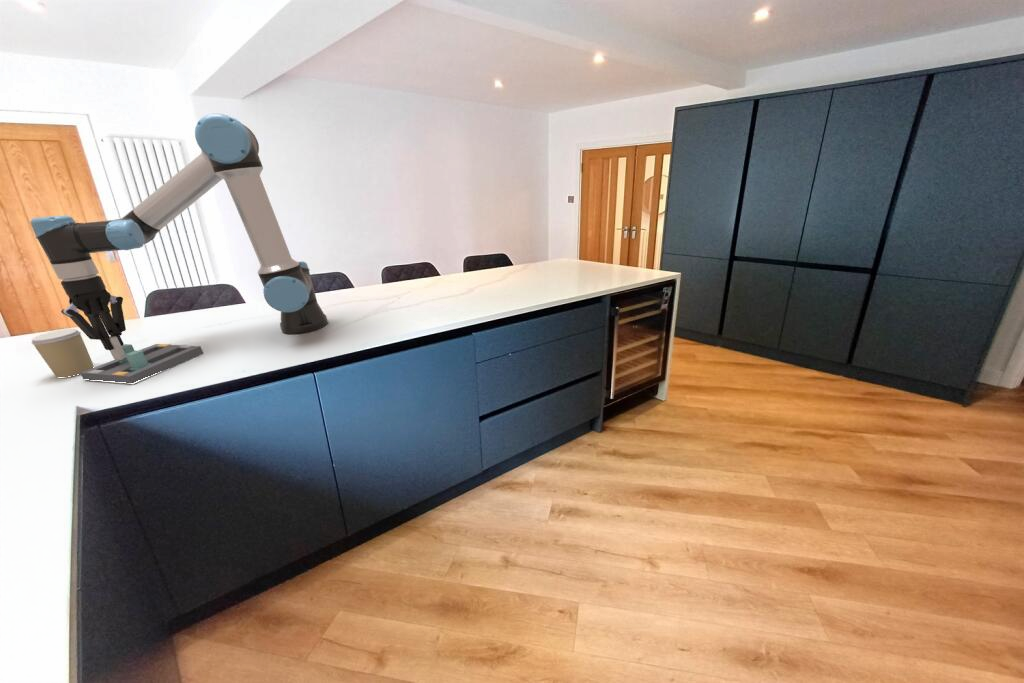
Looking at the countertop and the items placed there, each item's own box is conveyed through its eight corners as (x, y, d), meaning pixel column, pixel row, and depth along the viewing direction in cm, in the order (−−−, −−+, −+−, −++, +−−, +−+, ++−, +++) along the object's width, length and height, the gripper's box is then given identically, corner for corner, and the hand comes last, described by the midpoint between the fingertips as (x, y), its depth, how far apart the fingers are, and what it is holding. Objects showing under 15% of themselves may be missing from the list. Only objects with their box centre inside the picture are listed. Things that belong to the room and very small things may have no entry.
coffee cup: (74, 366, 117) (53, 329, 112) (106, 363, 117) (87, 327, 113) (42, 381, 108) (18, 342, 104) (77, 378, 109) (56, 339, 104)
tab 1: (142, 360, 115) (134, 343, 113) (127, 366, 112) (119, 349, 110) (135, 359, 116) (127, 343, 114) (120, 365, 112) (111, 348, 110)
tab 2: (153, 367, 110) (145, 349, 108) (138, 373, 107) (129, 355, 105) (145, 366, 111) (137, 349, 109) (130, 372, 107) (121, 355, 105)
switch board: (203, 353, 121) (200, 345, 120) (133, 384, 103) (129, 375, 102) (159, 351, 125) (155, 343, 124) (84, 380, 107) (79, 372, 106)
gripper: (98, 272, 109) (135, 348, 118) (37, 284, 97) (83, 367, 106) (118, 271, 107) (154, 349, 116) (59, 284, 95) (104, 369, 104)
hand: (120, 358), depth 111 cm, fingers closed
